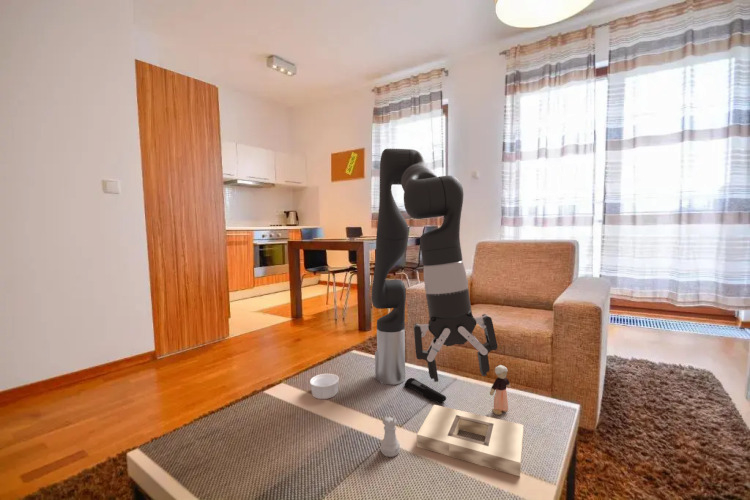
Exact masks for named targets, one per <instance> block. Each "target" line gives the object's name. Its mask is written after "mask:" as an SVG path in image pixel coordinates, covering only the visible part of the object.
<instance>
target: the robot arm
mask: <svg viewBox="0 0 750 500" xmlns="http://www.w3.org/2000/svg"><path fill="white" fill-rule="evenodd" d="M427 165H428V164H427V163H426V161H425V159H424V156H423V155H422V153H420V152H419V151H418V150H415V149H412V148H384V150H383V151H382V153H381V155H380V162H379V198H378V199H379V200H378V201H379V202H378V203H379V204H378V217H377V225H376V237H375V264H374V272H373V278H372V283H371V284H372V285H371V303H372V305H373V307H374V308H376V309H383V310H384V309H392V310H391V311H390V312H389V313H386V314H385V315H383V316H380V317H379V318H378V319H377V320H376V346H377V347H376V350H375V352H374V374H375V375H374V376H375V377H374V379H375V380H376V381H378V382H380V383H381V384H384V385H392V386H393V385H400V384H402V383H404V381H405V380H406V333H405V332H406V331H405V330H406V328H405V325H406V324H405V322H406V299H407V298H406V297H407V295H406V293H407V292H406V285H405V283H404V281H403V280H402V279H387V277H388V274H389V272H391V269H392V268H393V267H394V266H395V265H396V264H397V263H398V262H399V260H401V258H402V257H403V255H404V254H405V252H406V250H407V246H408V239H409V226H408V224H407V223H408V222H407V221H406V219H405V217H404V216H403V213H402V211H400V209H399V207H398V205H397V203H396V200H395V199H394V196H393V192H392V191H393V190H392V186H393V185H399V186H401V189H402V190H403V206H404V208H405V211H406V213H407V214H408V216H409V217H411V218H413V219H417V220H424V219H425V220H426V219H431V218H438V217H443V221H442V224H441V225H440V226H439V227H437V228H436V229H431V230H430V231H426V232H425V233H423V234H422V235H421V236H420V238H419V245H420V252H421V261H422V265H423V282H424V289H425V295H426V303H427V308H428V316H429V317H428V318H429V320H428V323H425V324H424V323H422V324H420V323H418V322H416V323H414V324H413V336H414V337H413V338H414V347H415V357H416V359H417V360H419V361H421V360H425V361H426V362H427V369H428V375H429V377H430V379H431V380H433V382H434V383H437V382H439V377H438V369H437V363H436V359H435V358H436V356H437V355H438V353H439V352H440V351H441V349H442V347H443V345H444V346H446V347H452V346H455V345H465V343H467V342H469V344H471V345H472V346H473V348H475V349H476V350H477V353H476V354H477V359H478V367H479V372H480V374H481V376H482V377H486V376H487V375H488V374H487V373H489V372H490V362H489V361H490V360H489V353H490V352H492V351H496V350H497V349H498V341H497V338H496V334H495V333H496V332H495V327H494V324H493V318H492V317H491V316H489V315H488V314H487V313H483V314H482V315H481V316H477V317H475V316H474V315H473V312H472V311H473V310H472V305H471V297H470V292H469V281H468V278H467V277H468V276H467V273H466V272H467V271H466V268H465V266H464V261H463V254H462V246H461V239H460V231H461V230H460V228H461V217H462V216H461V215H462V211H463V204H464V203H463V202H464V188H463V185H462V183H461V181H460V180H459V179H458V178H457V177H455V176H453V175H441V176H437V175H436V174H435V172H434V171H432V170H430V169H429V168H428V166H427ZM477 325H478V326H479V327H480V328H481V329H483V332H484V335H485V336H484V337H485V340H486V342H484V343H482V342H481V341H479V340H478V339H477V338H476V336H475V335H473V332H474V330H475V328H476V327H477ZM428 331H429V332H430V333H431V334H432V336H433V338H432V340H431V342H430V345H429V346H428V348H427V350H424V349H423V337H425V336H426V333H427V332H428Z"/></svg>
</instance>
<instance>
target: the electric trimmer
mask: <svg viewBox="0 0 750 500" xmlns="http://www.w3.org/2000/svg"><path fill="white" fill-rule="evenodd" d="M403 386H405V388H410V389H412V390H413V391H416V392H417V393H419V394H421V395H422V396H423V397H424V398H426V399H429V400H431V401H433V402H436V403H438V404H442V403H444V402H446V400H447V397H446V396H445V395H444V394H443V393H440V392H438V391H436V390H435V389H433V388H432V387H430V386H428V385H426V384H424V383H422V382H421V381H419V380H417V379H416V378H414V377H413V378H412V377H410V378H408V379H407V380H406V381H405V383H404V384H403Z"/></svg>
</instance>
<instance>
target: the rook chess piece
mask: <svg viewBox="0 0 750 500" xmlns="http://www.w3.org/2000/svg"><path fill="white" fill-rule="evenodd" d="M382 424H383V425H384V426H383V430H384V434H383V435H384V437H383V438H382V441H381V443H380V452H381V453H382V454H383V456H385V457H387V458H393V457H396V456H397V455H398V454H399V453H400V452H401V447H400V445H401V444H400V443H399V440H398V439H397V434H396V430H397V427H396V426H397V424H398V421H397V418H396V416H394V414H391V415H390V414H386V415H384V419H383V420H382Z"/></svg>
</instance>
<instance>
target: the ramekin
mask: <svg viewBox="0 0 750 500" xmlns="http://www.w3.org/2000/svg"><path fill="white" fill-rule="evenodd" d="M339 382H340V378H339V376H338V375H337V374H334V373H321V374H317V375H314V376H313V377H311V378H310V380H309V385H310V389H311V395H312V396H313V397H314V398H315V399H318V400H326V399H330V398H333V397H335V396H336V395H338V394H337V393H338V392H339Z"/></svg>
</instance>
